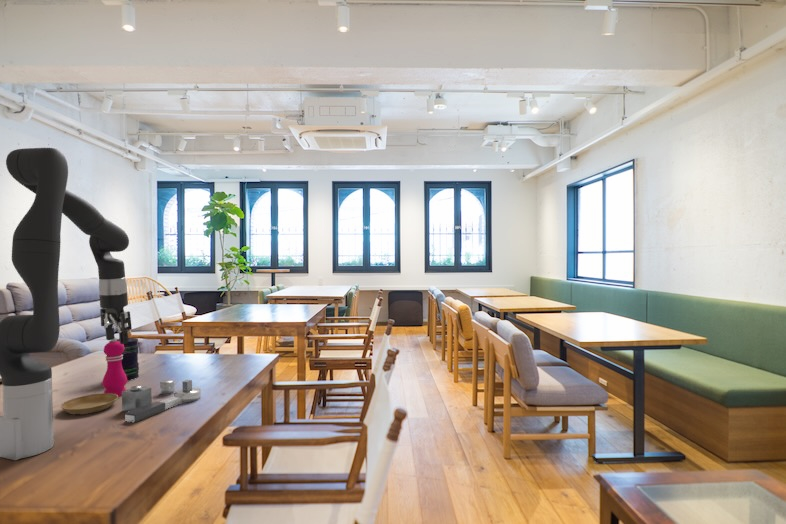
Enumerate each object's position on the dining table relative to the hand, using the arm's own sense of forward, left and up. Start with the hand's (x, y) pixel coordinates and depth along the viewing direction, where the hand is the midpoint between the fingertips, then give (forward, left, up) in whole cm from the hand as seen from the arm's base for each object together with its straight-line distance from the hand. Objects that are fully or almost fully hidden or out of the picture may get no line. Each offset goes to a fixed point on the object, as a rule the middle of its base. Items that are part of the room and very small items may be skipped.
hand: (117, 341), depth 138 cm
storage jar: (+22, +25, -20) cm, 39 cm away
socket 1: (-2, -11, -20) cm, 23 cm away
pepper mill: (+6, +9, -20) cm, 23 cm away
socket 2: (+13, -7, -20) cm, 25 cm away
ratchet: (+2, -19, -20) cm, 27 cm away
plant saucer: (-6, +4, -21) cm, 22 cm away
